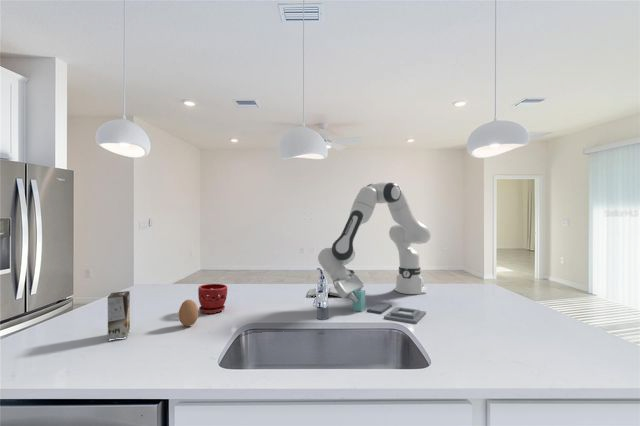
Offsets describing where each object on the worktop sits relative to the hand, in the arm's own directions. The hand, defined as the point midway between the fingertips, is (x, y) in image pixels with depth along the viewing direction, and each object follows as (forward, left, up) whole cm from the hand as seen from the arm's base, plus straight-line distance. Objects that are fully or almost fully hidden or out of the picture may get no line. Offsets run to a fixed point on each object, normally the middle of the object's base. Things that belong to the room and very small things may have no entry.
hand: (360, 299), depth 163 cm
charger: (0, -1, -5) cm, 5 cm away
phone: (-6, +7, -5) cm, 11 cm away
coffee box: (+77, -65, -5) cm, 101 cm away
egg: (+56, -52, -5) cm, 76 cm away
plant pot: (+36, -60, -5) cm, 70 cm away
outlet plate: (-1, +21, -5) cm, 22 cm away
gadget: (-20, -29, -6) cm, 35 cm away
